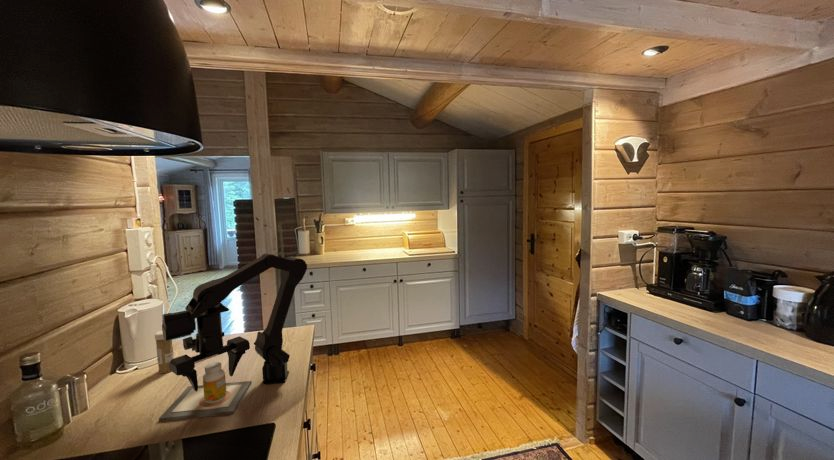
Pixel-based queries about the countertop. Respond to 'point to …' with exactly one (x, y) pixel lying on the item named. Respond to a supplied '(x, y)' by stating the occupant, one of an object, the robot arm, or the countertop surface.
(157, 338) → the sprinkles bottle
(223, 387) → the supplement bottle
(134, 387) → the countertop surface
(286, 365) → the robot arm
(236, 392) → the grey bordered rectangular panel
